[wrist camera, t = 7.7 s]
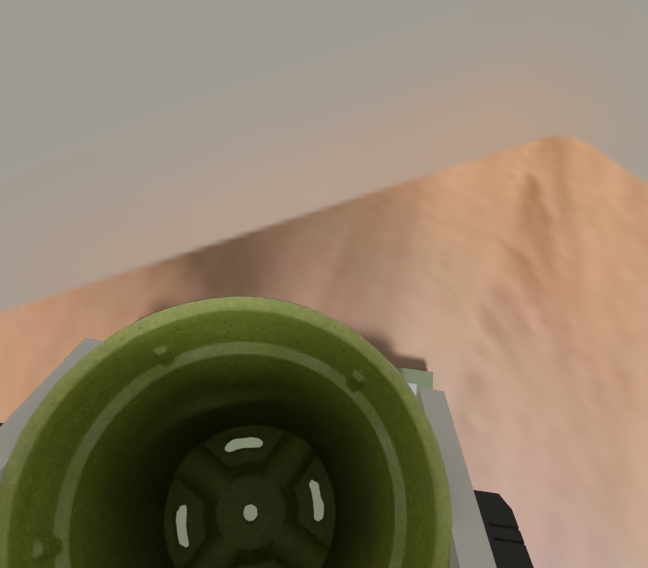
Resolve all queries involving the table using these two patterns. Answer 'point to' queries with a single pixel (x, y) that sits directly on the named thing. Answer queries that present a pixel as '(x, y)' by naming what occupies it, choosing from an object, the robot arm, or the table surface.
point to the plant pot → (215, 462)
